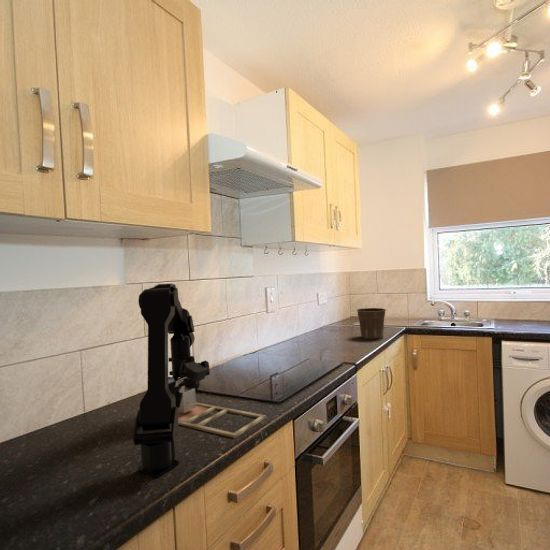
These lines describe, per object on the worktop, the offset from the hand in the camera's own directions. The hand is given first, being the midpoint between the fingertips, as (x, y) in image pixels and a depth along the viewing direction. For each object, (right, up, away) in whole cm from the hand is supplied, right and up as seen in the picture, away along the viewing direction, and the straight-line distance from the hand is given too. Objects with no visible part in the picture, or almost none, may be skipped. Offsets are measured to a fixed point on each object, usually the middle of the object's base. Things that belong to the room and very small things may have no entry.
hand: (183, 404), depth 115 cm
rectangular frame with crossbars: (+8, -2, -5) cm, 9 cm away
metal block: (0, -1, 0) cm, 1 cm away
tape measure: (-4, -3, +22) cm, 23 cm away
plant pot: (+83, +3, +101) cm, 131 cm away
